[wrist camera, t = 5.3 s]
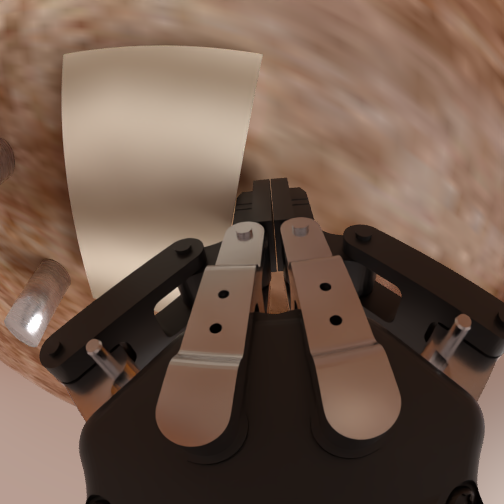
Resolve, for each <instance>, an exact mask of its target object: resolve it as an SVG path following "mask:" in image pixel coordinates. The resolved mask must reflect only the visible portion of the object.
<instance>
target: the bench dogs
mask: <svg viewBox="0 0 504 504" xmlns="http://www.w3.org/2000/svg"><path fill="white" fill-rule="evenodd" d="M14 164H15V163H14V155H13V152H12V149H11V147H10V146H9V144H8V143H7V142H6V141H5V140H4V139H2V138H0V184H2V183H3V182H4V181H5V180H7V179H8V178H9V177H10V176H11V175H12V173H13V171H14ZM70 283H71V280H70V277H69V274H68V273H67V271H66V270H65V269H64V268H63V267H62V266H61V265H60V264H59V263H57V262H55V261H53V260H50V259H45V260H43V261H42V263H41V264H40V265H39V267H38V268H37V270H36V271H35V272H34V274H33V275H32V277H31V278H30V280H29V281H28V283H27V284H26V286H25V287H24V289H23V290H22V292H21V293H20V295H19V297H18V298H17V300H16V301H15V303H14V305H13V306H12V308H11V310H10V311H9V313H8V315H7V316H6V318H5V320H4V323H5V325H6V327H7V328H8V330H9V331H10V332H11V333H12V334H13V335H14V336H15V337H16V338H17V339H19V340H20V341H21V342H23V343H25V344H26V345H29V346H31V347H37V346H38V344H39V342H40V340H41V338H42V336H43V333H44V331H45V329H46V327H47V326H48V324H49V322H50V320H51V318H52V316H53V314H54V312H55V310H56V308H57V307H58V305H59V303H60V301H61V299H62V298H63V296H64V294H65V292H66V291H67V289H68V287H69V286H70Z"/></svg>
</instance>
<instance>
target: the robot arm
mask: <svg viewBox="0 0 504 504" xmlns="http://www.w3.org/2000/svg"><path fill="white" fill-rule="evenodd" d="M271 189H272V199H271V190H270V180H269V179H266V180H256V181H253V191H251V192H242V193H241V194H240V195H239V197H238V198H237V201H236V207H235V213H234V220H233V226H231V227H229V228H228V229H227V230H226V232H225V235H224V238H223V241H221V242H219V243H216V244H213V245H210V246H206V247H204V245H203V243H202V241H200V240H199V239H196V238H185V239H181V240H178V241H176V242H174V243H173V244H171V245H170V246H168V247H167V248H166V249H164V250H163V251H161V252H160V253H158V254H157V255H156V256H154V257H153V258H151V259H150V260H149V261H147V262H146V263H145V264H143V265H142V266H140V267H139V268H138V269H136V270H135V271H134V272H132V273H131V274H129V275H128V276H127V277H125V278H124V279H123V280H121V281H120V282H119V283H117V284H116V285H115V286H113V287H112V288H111V289H109V290H108V291H107V292H105V293H104V294H103V295H101V296H100V297H99V298H98V299H96V300H95V301H94V302H92V303H91V304H90V305H88V306H87V307H86V308H85V309H83V310H82V311H81V312H80V313H78V314H77V315H76V316H75V317H73V318H72V319H71V320H69V321H68V322H67V323H66V324H65V325H63V326H62V327H61V328H60V329H58V330H57V331H56V332H55V333H54V334H52V335H51V336H50V337H49V338H48V339H47V340H46V341H45V342H44V344H43V346H42V348H41V350H40V362H41V364H42V365H43V366H44V367H45V368H46V369H47V370H48V371H49V372H50V373H51V374H53V375H54V376H55V377H56V379H57V380H58V381H59V382H60V383H61V384H62V385H63V386H65V387H66V389H67V391H68V392H69V394H70V396H71V398H72V400H73V401H74V403H75V405H76V406H77V408H78V410H79V412H80V413H81V415H82V416H83V418H84V420H85V421H86V423H85V425H84V427H83V429H82V432H81V436H80V441H79V450H80V451H79V452H80V457H81V462H82V466H83V469H84V474H85V480H86V489H87V500H86V504H483V502H482V499H481V497H480V494H479V491H478V487H477V473H478V464H479V458H480V452H481V448H482V444H483V438H484V429H485V425H484V418H483V414H482V411H481V408H480V406H479V404H478V403H477V401H478V399H479V397H480V395H481V393H482V391H483V389H484V387H485V385H486V383H487V381H488V379H489V377H490V374H491V372H492V370H493V368H494V365H495V363H496V361H497V360H498V359H499V358H500V357H501V356H502V354H503V353H504V303H503V302H502V301H500V300H499V299H497V298H496V297H494V296H493V295H491V294H490V293H488V292H487V291H485V290H484V289H482V288H480V287H479V286H477V285H476V284H474V283H472V282H471V281H469V280H468V279H466V278H464V277H463V276H461V275H459V274H458V273H456V272H454V271H453V270H451V269H449V268H448V267H446V266H444V265H442V264H441V263H439V262H437V261H435V260H434V259H432V258H430V257H428V256H427V255H425V254H423V253H421V252H419V251H417V250H416V249H414V248H412V247H410V246H408V245H406V244H405V243H403V242H401V241H399V240H397V239H395V238H393V237H391V236H389V235H387V234H385V233H384V232H382V231H380V230H378V229H376V228H374V227H371V226H368V225H353V226H350V227H348V228H347V229H346V230H345V231H344V233H343V235H335V234H330V233H327V232H324V231H322V230H321V227H320V225H319V224H318V223H317V222H316V221H315V220H314V218H313V214H312V211H311V207H310V205H309V201H308V197H307V194H306V192H305V191H304V190H302V189H301V188H300V187H298V188H289V186H288V181H287V178H277V179H271ZM272 202H273V210H272ZM273 217H274V221H273ZM274 228H275V236H274ZM275 239H276V251H277V262H278V271H283V274H284V287H285V293H286V298H287V304H288V309H289V311H287V312H284V313H280V314H269V303H270V290H271V286H270V281H271V272H277V270H276V253H275ZM376 274H378V275H380V276H381V277H383V278H384V279H386V280H388V281H389V282H391V283H393V284H394V285H396V286H397V287H398V288H399V290H400V291H401V294H402V298H401V297H400V296H398V295H397V294H395V293H394V292H392V291H390V290H389V289H387V288H386V287H384V286H383V285H381V284H379V283H378V282H376V281H375V279H376ZM177 287H178V289H179V292H180V294H181V295H180V296H178V297H177V298H176V299H175V300H173V301H172V302H171V303H170V304H169V305H167V306H166V307H165V308H164V309H162V310H161V311H160V312H159V313H158V314H156V315H154V308H155V306H156V304H157V303H158V302H159V301H160V300H162V299H163V298H164V297H165V296H167V295H168V294H169V293H170V292H172V291H173V290H174V289H175V288H177Z"/></svg>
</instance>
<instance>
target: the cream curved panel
mask: <svg viewBox="0 0 504 504" xmlns="http://www.w3.org/2000/svg"><path fill="white" fill-rule="evenodd" d="M262 56H263V54H258V53H251V52H245V51H237V50H229V49H220V48H209V47H195V46H166V45H156V46H127V47H114V48H103V49H95V50H87V51H80V52H74V53H68V54H63V67H62V132H63V147H64V158H65V167H66V176H67V183H68V190H69V197H70V203H71V209H72V214H73V220H74V225H75V229H76V234H77V239H78V243H79V247H80V252H81V256H82V260H83V263H84V267H85V271H86V274H87V278H88V281H89V285H90V288H91V291H92V295H93V298H96V299H98V298H99V297H100V296H101V295H103V294H104V293H105V292H107V291H108V290H109V289H111V288H112V287H113V286H115V285H116V284H117V283H119V282H120V281H121V280H123V279H124V278H125V277H127V276H128V275H129V274H131V273H132V272H134V271H135V270H136V269H138V268H139V267H140V266H142V265H143V264H145V263H146V262H147V261H149V260H150V259H151V258H153V257H154V256H156V255H157V254H158V253H160V252H161V251H163V250H164V249H166V248H167V247H168V246H170V245H171V244H173V243H174V242H176V241H178V240H181V239H185V238H196V239H199V240H200V241H202V243H203V245H204V247H206V246H210V245H213V244H216V243H219V242H221V241H223V238H224V235H225V232H226V230H227V229H228V228H229V227H231V224H232V218H233V212H234V206H235V200H236V194H237V188H238V183H239V177H240V171H241V165H242V160H243V154H244V149H245V143H246V138H247V132H248V127H249V122H250V117H251V111H252V106H253V101H254V96H255V91H256V86H257V81H258V76H259V71H260V66H261V61H262ZM180 295H181V294H180V292H179V289H178V287H177V288H175V289H174V290H173V291H172V292H170V293H169V294H168V295H167V296H165V297H164V298H163V299H162V300H160V301H159V302H158V303H157V304H156V306H155V308H154V311H158V312H160V311H161V310H162V309H164V308H165V307H166V306H167V305H169V304H170V303H171V302H172V301H173V300H175V299H176V298H177V297H178V296H180Z"/></svg>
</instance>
